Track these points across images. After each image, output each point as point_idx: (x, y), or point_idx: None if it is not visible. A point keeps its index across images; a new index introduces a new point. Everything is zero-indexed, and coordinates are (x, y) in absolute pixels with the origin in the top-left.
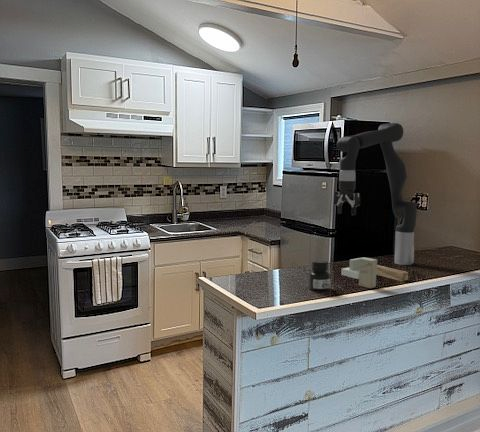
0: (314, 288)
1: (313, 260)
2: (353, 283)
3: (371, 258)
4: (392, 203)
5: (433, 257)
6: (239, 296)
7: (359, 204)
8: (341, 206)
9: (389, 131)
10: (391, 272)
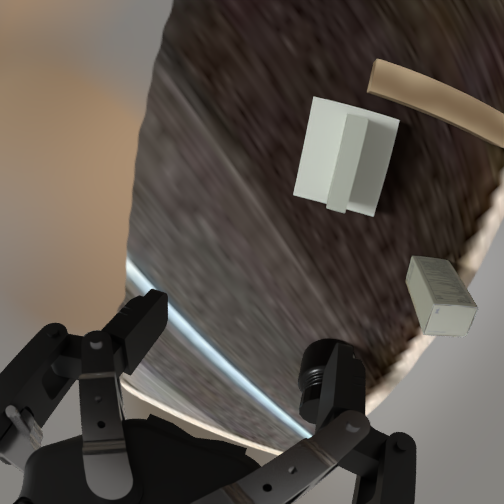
0: None
1: (303, 413)
2: (382, 265)
3: (457, 305)
4: None
5: None
6: (244, 437)
7: (408, 457)
8: (129, 343)
9: None
10: (463, 128)
